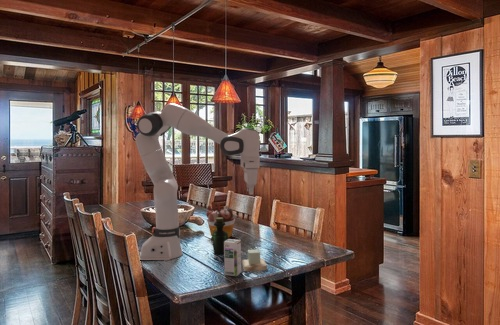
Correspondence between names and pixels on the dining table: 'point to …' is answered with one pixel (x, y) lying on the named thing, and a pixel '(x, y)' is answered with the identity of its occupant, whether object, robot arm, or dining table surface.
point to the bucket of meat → (223, 213)
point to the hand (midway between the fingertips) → (250, 193)
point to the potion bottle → (219, 237)
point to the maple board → (254, 265)
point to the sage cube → (254, 256)
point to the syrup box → (232, 257)
